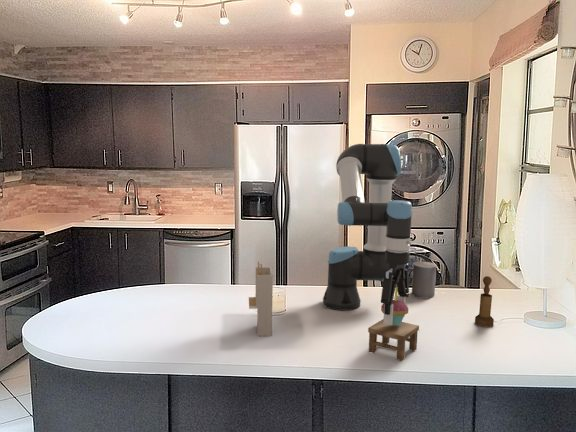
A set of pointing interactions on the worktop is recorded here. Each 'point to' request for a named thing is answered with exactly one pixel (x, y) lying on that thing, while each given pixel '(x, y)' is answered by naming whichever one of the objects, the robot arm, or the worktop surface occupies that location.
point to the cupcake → (397, 310)
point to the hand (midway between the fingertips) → (394, 319)
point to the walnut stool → (395, 332)
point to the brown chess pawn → (485, 306)
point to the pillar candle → (424, 279)
